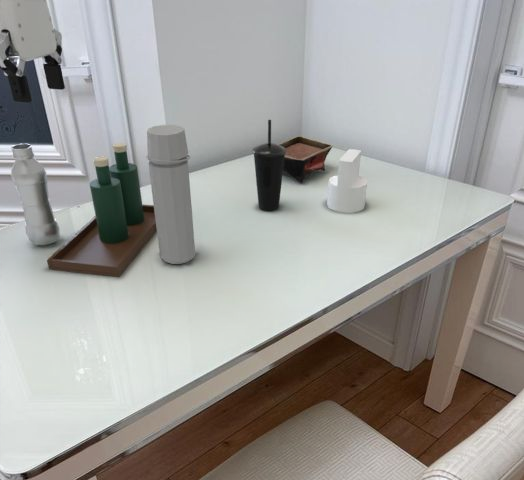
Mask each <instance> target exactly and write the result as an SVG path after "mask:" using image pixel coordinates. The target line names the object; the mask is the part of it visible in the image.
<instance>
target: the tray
mask: <svg viewBox="0 0 524 480" xmlns="http://www.w3.org/2000/svg"><path fill="white" fill-rule="evenodd" d="M142 206H143V213H144V221H143V222H142V223H140V224H137V225H132V226H127V228H128V234H129V237H128V239H126V240H125V241H123V242H120V243H104V242H102V241H101V240H100V236H99V230H98V225H97V220H96V215H94V216H93V217H92V218H91V219H90V220H89V221H87V222H86V223H85V224H84V225H83V226H82V227H80V229H79V230H78V231H77V232H75V233H74V235H72V236H71V237H70V238H69V239H68V240H67V241H65V243H64V244H62V245H61V246H60V247H59V248H58V249H57V250H56V251H55V252H54V253H52V254H51V255H50V256H49V257H47V259H46V263H47V266H48V270H52V271H60V272H68V273H69V272H71V273H79V274H88V275H97V276H106V277H117V278H119V277H120V276H121V275H122V274H123V272H124V271H125V270H126V269H127V268H128V266H129V265H130V264H131V263H132V262H133V261H134V259H135V258H136V257H137V256H138V254H139V253H140V252H141V251H142V250H143V248H145V246H146V245H147V243H148V242H149V241H150V240H151V239H152V238H153V237H154V235H155V234H157V228H156V220H155V212H154V204H144V203H142Z"/></svg>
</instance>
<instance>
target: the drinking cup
mask: <svg viewBox="0 0 524 480" xmlns="http://www.w3.org/2000/svg"><path fill="white" fill-rule="evenodd" d="M278 144H279V143H278ZM278 144H277V143H275V142H274V143H272V119H268V120H267V142H266V143H261V144H259V145H256V146H254V147H252V150H251V151H252V154H253V160H254V161H253V162H254V169H255V181H256V193H257V204H258V209H259V210H261V211H264V212H274V211H277V210H279V208H280V202H281V201H280V199H281V191H282V183H283V174H284V172H283V166H284V158H285V154H286V148H284V147H282V146H280V145H278Z"/></svg>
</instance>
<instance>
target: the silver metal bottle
mask: <svg viewBox="0 0 524 480" xmlns="http://www.w3.org/2000/svg"><path fill="white" fill-rule="evenodd" d="M10 149H11V153H12V158H13V159H15V160H14V162H13V164H12V167H11V170H10V171H11V172H10V177H11V180H12V182H13V186H14V187H15V190H16V191H17V194H18V198H19V200H20V203H21V206H22V210H23V216H24V222H25V226H24V227H25V233H26V236H27V238H28V240H29V241H30V242H31V243H32V244H34V245H36V246H48V245H51V244H54V243H56V242H57V241H58V240H59V237H60V236H61V234H60V226H59V224H58V221H57V219H56V218H55V214H54V211H53V208H52V205H51V200H50V195H49V188H48V176H47V171H46V169H45V167H44V166H43V165H42V164H41V163H40V161H38V160H37V159H36V158H35V152H34V150H33V146H32V144H29V143H18V144H14V145H12V146H11V147H10Z"/></svg>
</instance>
